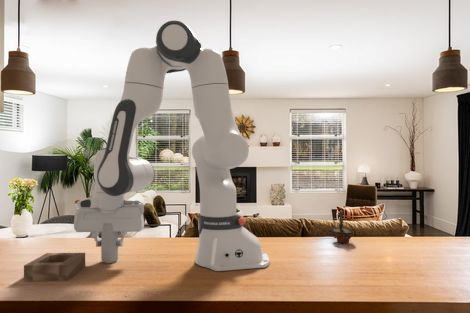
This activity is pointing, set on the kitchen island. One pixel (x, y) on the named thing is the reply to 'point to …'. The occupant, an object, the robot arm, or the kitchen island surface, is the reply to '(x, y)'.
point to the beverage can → (109, 244)
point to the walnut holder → (54, 267)
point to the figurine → (341, 231)
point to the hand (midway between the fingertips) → (109, 246)
